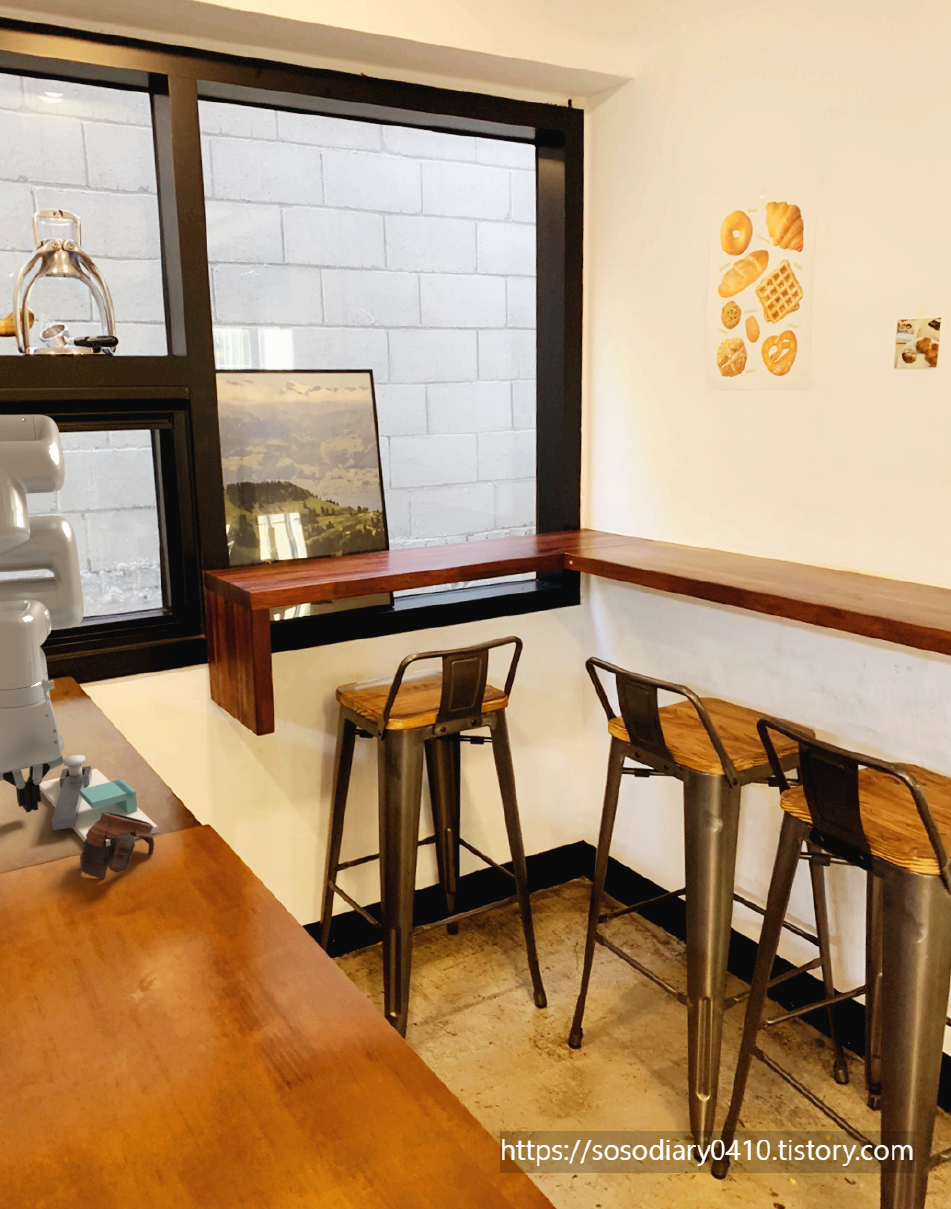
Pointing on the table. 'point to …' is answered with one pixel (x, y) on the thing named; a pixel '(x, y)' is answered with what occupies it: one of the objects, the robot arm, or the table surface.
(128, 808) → the keeper bracket
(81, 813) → the base plank
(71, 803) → the swing link
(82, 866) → the brown two-tone legged part
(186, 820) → the table surface
